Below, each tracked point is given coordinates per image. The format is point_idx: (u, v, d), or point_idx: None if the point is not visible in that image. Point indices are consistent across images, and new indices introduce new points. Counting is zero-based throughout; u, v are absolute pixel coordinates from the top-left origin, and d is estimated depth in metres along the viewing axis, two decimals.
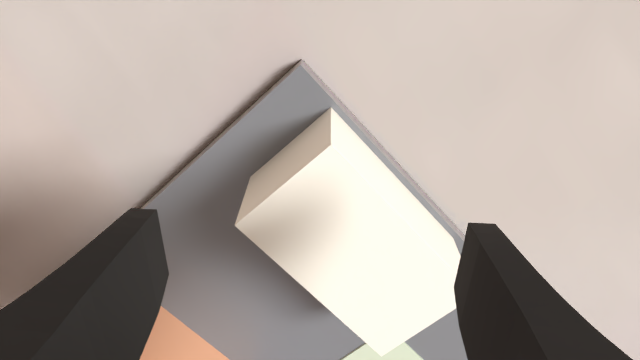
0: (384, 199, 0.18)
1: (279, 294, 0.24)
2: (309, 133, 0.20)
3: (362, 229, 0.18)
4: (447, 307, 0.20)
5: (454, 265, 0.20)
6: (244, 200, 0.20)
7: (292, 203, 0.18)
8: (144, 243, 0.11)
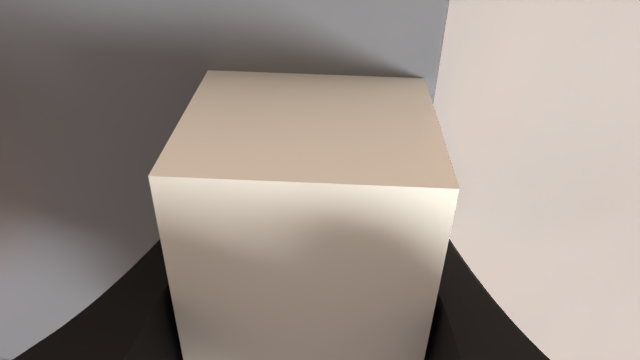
0: None
1: (101, 250, 0.14)
2: (374, 96, 0.10)
3: (355, 329, 0.09)
4: None
5: None
6: (187, 122, 0.09)
7: (292, 222, 0.08)
8: None
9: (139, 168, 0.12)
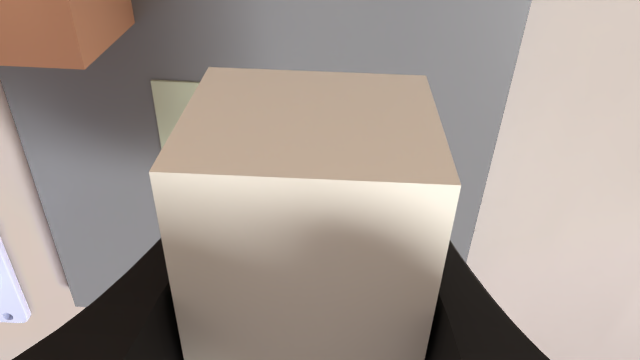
0: (432, 311, 0.09)
1: None
2: (375, 93, 0.10)
3: (355, 326, 0.09)
4: None
5: None
6: (187, 118, 0.09)
7: (292, 218, 0.08)
8: None
9: None
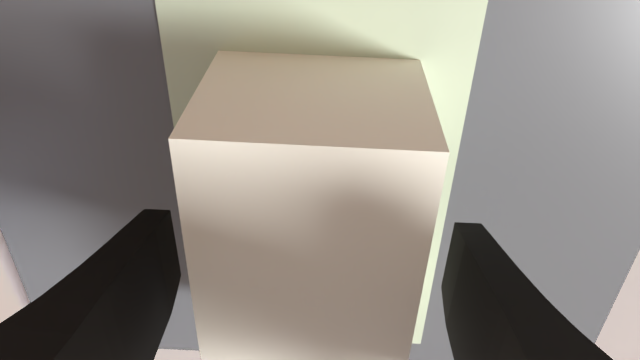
0: (423, 273, 0.10)
1: None
2: (373, 75, 0.11)
3: (354, 286, 0.10)
4: None
5: None
6: (201, 94, 0.10)
7: (298, 182, 0.09)
8: (158, 244, 0.11)
9: None
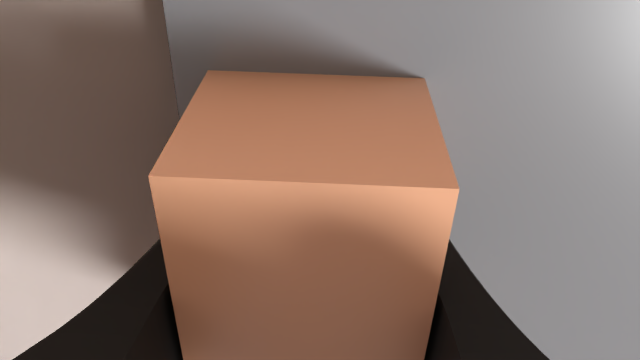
0: None
1: (580, 271, 0.14)
2: None
3: None
4: None
5: None
6: None
7: None
8: None
9: None
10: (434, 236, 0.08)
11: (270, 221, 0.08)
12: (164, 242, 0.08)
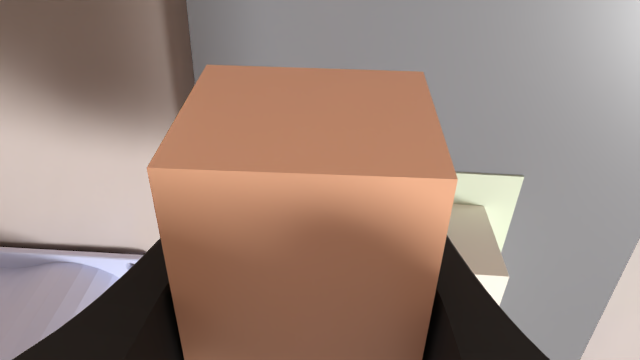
0: None
1: (483, 51, 0.18)
2: (461, 219, 0.20)
3: None
4: None
5: None
6: None
7: None
8: None
9: None
10: (433, 227, 0.08)
11: (269, 213, 0.08)
12: (163, 235, 0.08)
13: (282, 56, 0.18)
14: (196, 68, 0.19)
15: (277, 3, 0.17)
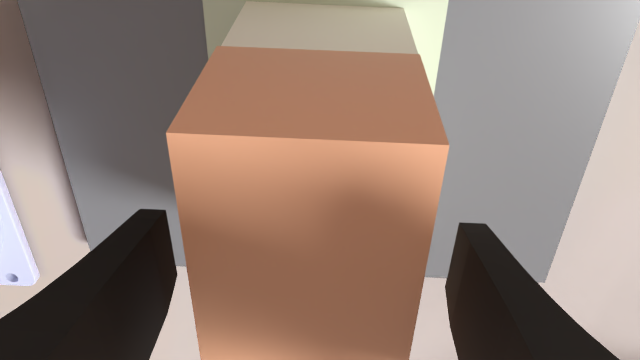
0: None
1: None
2: (366, 16, 0.14)
3: None
4: None
5: None
6: (237, 26, 0.13)
7: None
8: (153, 243, 0.11)
9: None
10: (426, 191, 0.09)
11: (276, 176, 0.09)
12: (178, 197, 0.09)
13: None
14: None
15: None
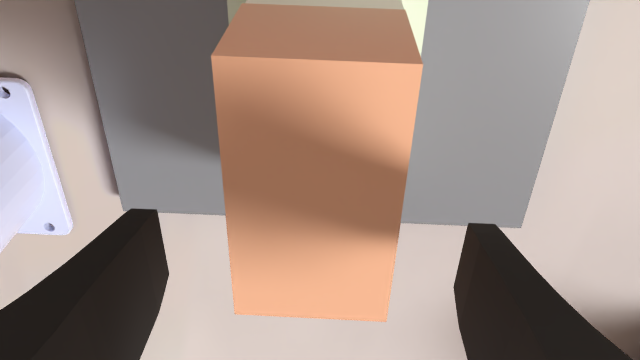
0: None
1: None
2: None
3: None
4: None
5: None
6: None
7: None
8: (144, 243, 0.11)
9: None
10: (407, 102, 0.12)
11: (293, 91, 0.12)
12: (218, 109, 0.12)
13: None
14: None
15: None
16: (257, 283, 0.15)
